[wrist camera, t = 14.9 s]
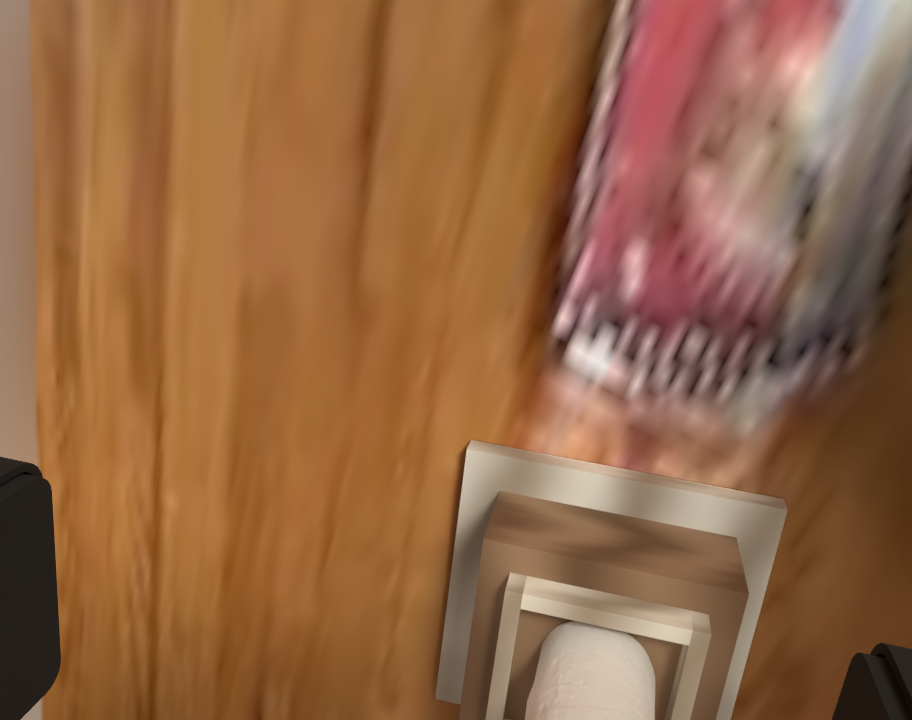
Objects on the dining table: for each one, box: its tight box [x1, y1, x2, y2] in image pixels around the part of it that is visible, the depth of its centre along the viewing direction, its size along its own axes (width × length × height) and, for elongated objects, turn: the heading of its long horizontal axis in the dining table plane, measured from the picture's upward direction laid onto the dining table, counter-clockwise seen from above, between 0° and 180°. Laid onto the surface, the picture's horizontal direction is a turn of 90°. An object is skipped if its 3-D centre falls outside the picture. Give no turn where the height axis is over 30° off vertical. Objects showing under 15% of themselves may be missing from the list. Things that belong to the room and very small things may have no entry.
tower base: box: [435, 440, 788, 720], centre depth 42 cm, size 16×16×8 cm
